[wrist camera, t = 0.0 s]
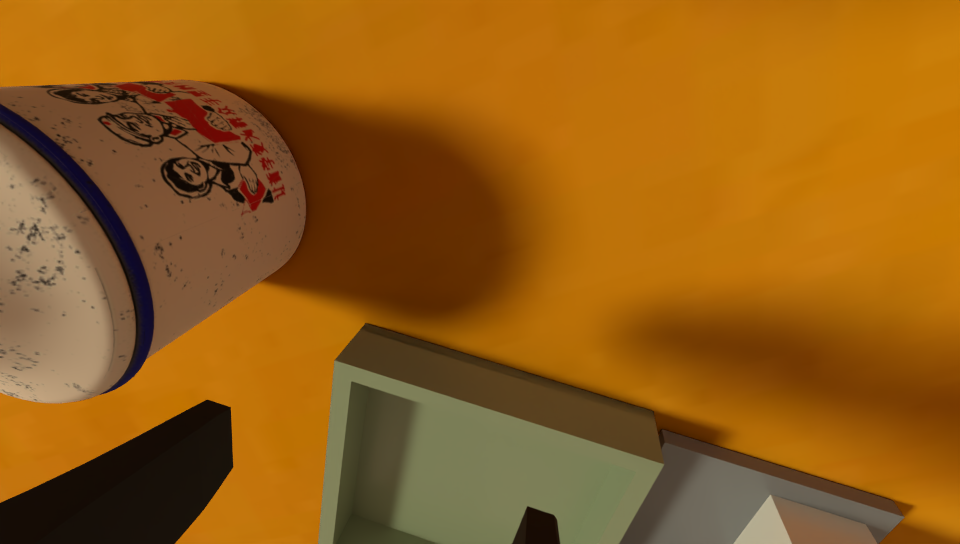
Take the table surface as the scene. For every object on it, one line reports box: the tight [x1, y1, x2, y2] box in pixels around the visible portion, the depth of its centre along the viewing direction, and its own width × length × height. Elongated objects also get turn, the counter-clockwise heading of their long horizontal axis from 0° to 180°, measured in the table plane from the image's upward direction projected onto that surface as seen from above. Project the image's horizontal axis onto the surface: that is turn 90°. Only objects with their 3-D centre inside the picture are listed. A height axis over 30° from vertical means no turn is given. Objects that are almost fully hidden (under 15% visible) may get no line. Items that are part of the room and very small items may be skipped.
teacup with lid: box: [0, 80, 306, 403], centre depth 15 cm, size 12×9×12 cm
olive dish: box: [318, 323, 664, 544], centre depth 22 cm, size 14×14×3 cm
